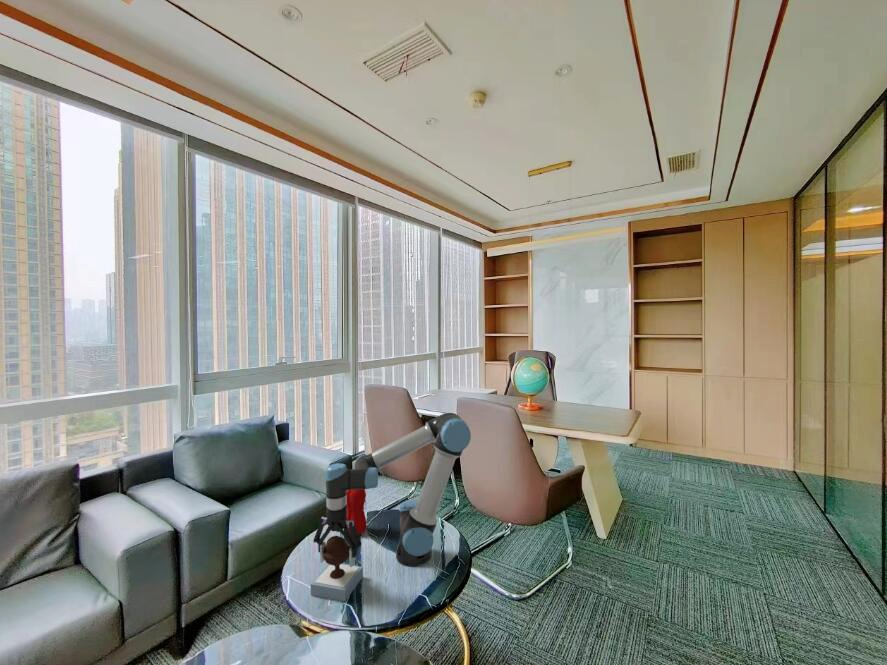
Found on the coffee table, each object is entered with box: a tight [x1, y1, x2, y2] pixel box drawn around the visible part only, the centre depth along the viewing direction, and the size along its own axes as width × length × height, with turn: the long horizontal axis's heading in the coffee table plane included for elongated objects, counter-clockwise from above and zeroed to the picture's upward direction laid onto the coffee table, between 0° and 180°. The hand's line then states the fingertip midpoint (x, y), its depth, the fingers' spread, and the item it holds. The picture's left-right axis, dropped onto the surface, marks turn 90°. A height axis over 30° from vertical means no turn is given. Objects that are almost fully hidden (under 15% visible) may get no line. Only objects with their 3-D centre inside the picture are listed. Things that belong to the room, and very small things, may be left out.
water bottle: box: [346, 489, 368, 536], centre depth 184 cm, size 9×11×25 cm
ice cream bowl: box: [322, 535, 351, 579], centre depth 145 cm, size 11×11×15 cm
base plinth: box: [310, 563, 364, 602], centre depth 146 cm, size 14×14×4 cm
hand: (337, 562), depth 145 cm, fingers open, 12 cm apart
